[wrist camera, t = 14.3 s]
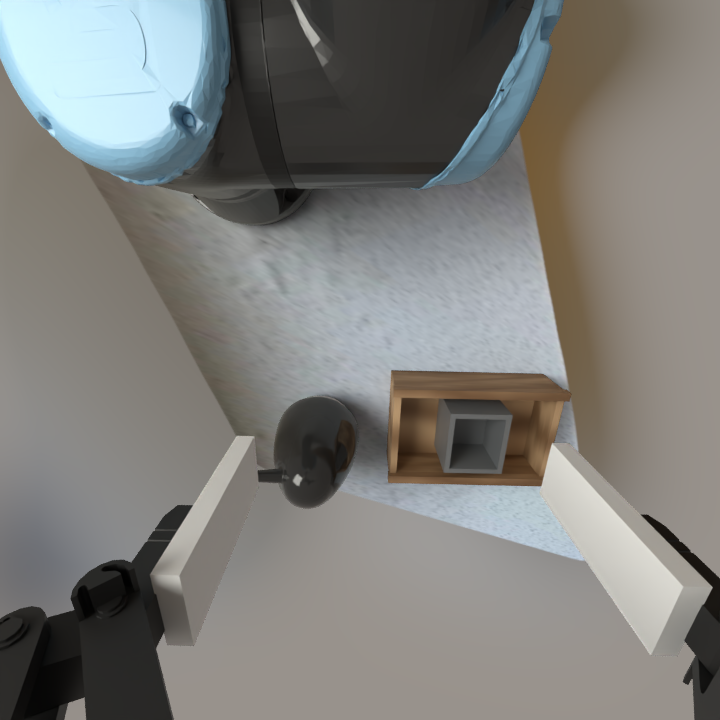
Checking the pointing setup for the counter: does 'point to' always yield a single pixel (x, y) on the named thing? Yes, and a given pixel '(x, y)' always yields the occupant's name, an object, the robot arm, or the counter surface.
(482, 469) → the box
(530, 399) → the large crate
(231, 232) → the counter surface
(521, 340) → the counter surface
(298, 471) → the pump dispenser
